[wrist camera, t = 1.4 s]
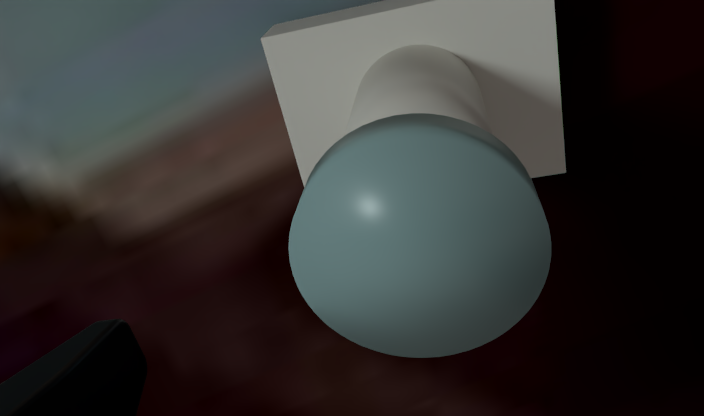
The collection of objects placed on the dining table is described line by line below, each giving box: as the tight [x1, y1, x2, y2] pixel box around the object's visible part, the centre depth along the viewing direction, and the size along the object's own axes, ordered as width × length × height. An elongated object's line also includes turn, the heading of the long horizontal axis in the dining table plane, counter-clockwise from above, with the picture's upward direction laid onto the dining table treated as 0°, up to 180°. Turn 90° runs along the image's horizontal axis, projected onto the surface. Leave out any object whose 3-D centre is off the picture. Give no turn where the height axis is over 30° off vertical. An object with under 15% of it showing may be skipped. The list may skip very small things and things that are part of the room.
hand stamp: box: [261, 0, 566, 358], centre depth 13 cm, size 7×5×9 cm
